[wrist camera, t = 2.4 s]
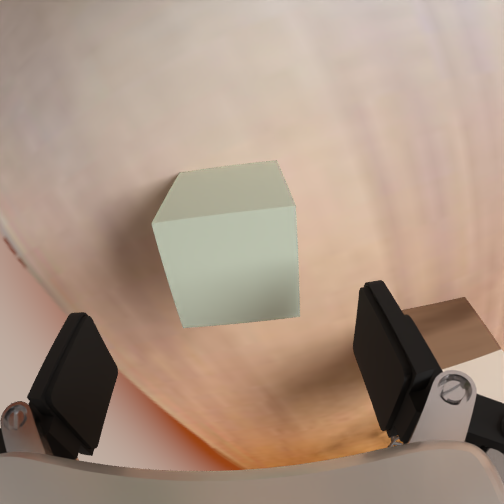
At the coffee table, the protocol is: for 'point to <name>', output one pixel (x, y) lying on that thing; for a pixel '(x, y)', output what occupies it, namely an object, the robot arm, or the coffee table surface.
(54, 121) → the coffee table surface
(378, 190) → the coffee table surface
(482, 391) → the cream block
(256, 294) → the sage block
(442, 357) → the walnut block
